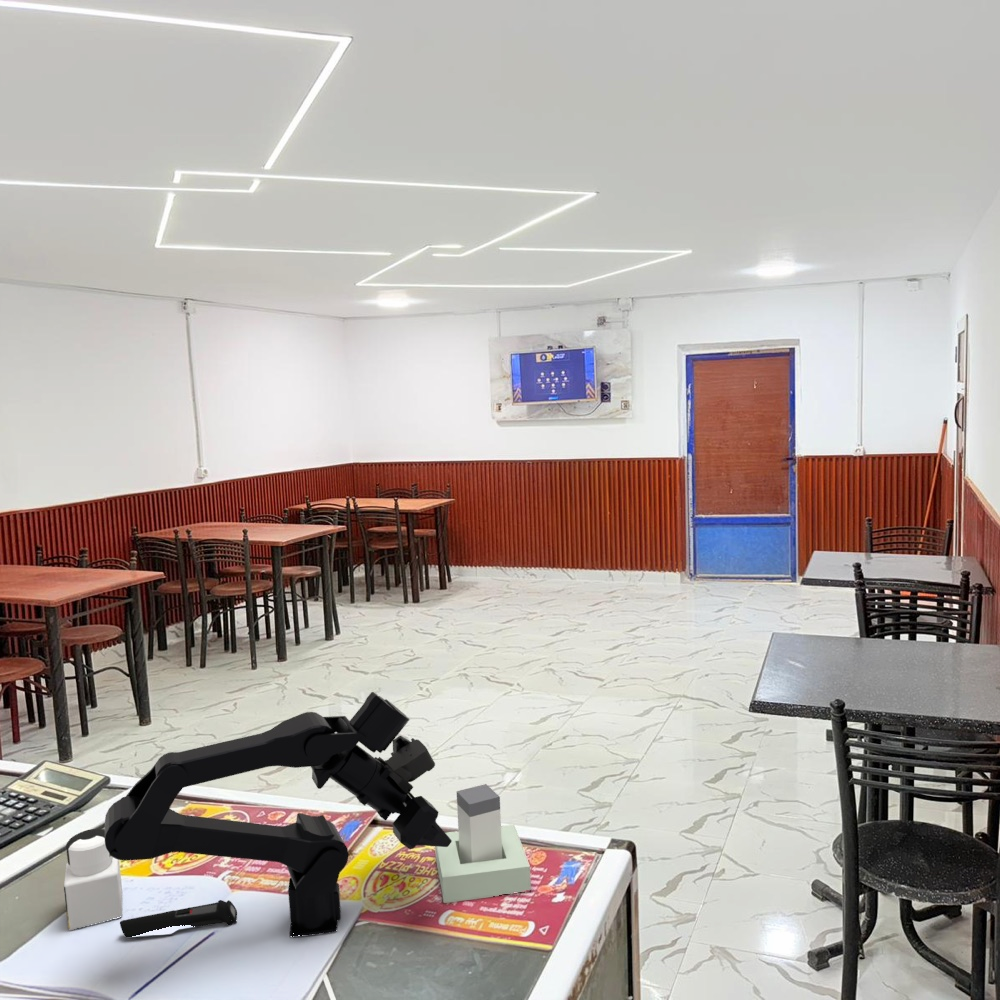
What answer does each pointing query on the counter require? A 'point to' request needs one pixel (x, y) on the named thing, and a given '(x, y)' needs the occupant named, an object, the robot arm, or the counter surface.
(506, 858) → the sage block
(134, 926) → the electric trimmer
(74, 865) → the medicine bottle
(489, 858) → the white plug block
